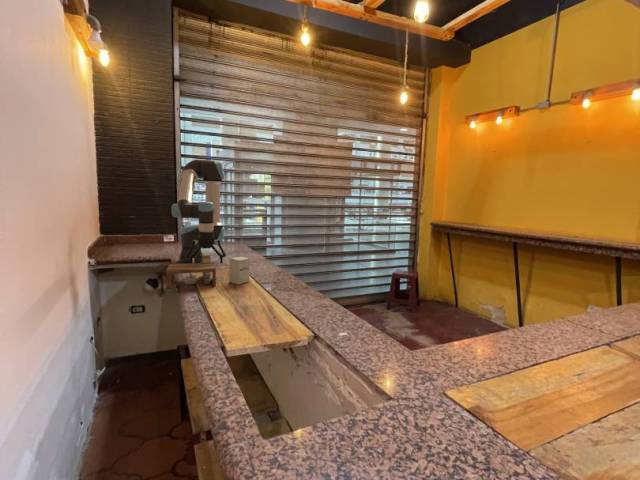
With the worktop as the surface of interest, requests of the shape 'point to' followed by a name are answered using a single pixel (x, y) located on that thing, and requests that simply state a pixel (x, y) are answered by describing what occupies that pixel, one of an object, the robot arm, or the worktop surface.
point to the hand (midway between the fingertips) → (206, 270)
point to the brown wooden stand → (189, 270)
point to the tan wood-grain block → (206, 274)
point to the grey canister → (239, 270)
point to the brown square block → (190, 279)
